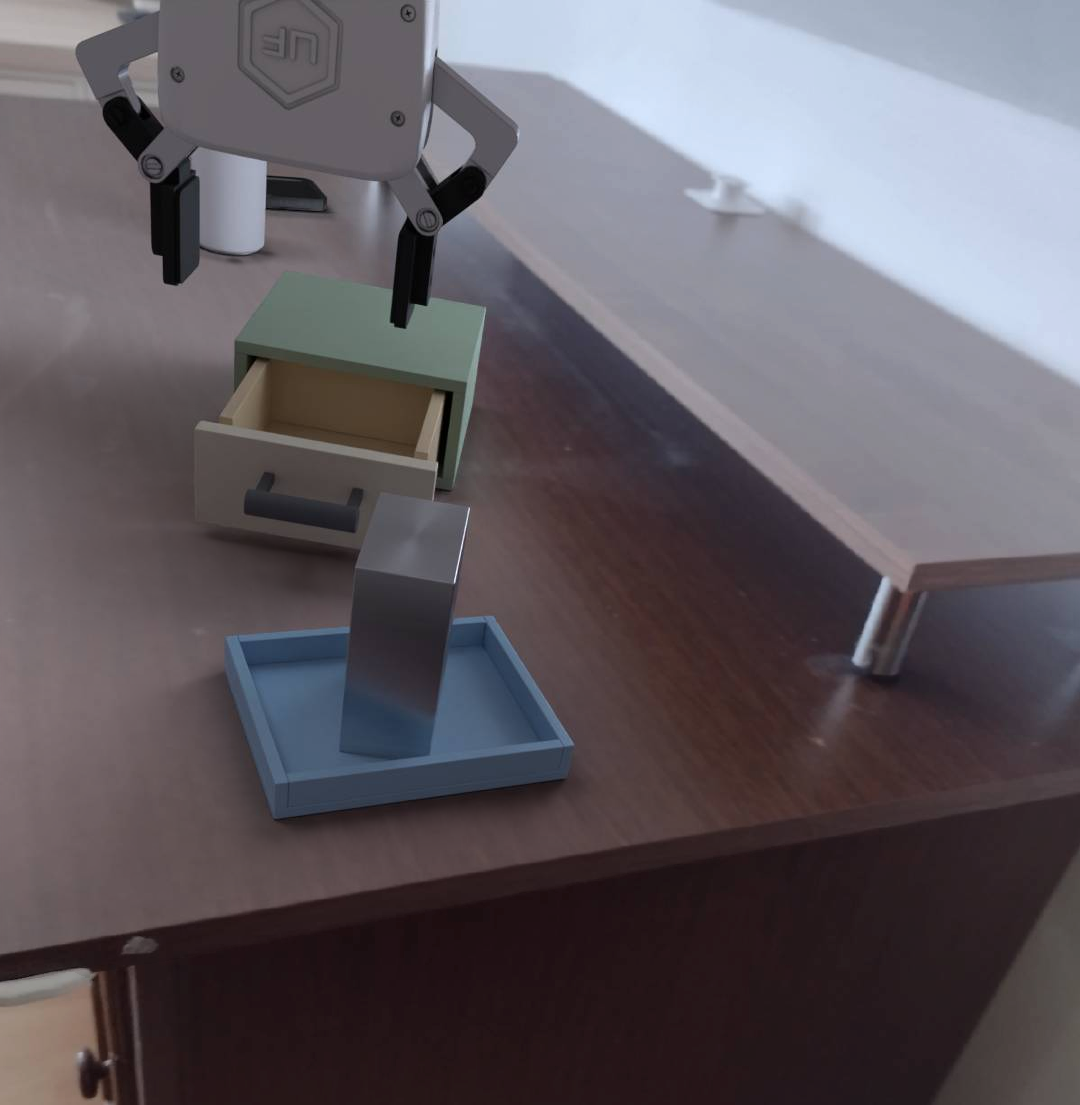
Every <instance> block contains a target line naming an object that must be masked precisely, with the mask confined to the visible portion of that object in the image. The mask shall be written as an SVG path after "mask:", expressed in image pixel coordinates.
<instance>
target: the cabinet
mask: <svg viewBox="0 0 1080 1105" xmlns="http://www.w3.org/2000/svg"><path fill="white" fill-rule="evenodd" d="M392 293H393V289H390V288H384V287H379V286H374V285H370V284H363V283H358V282H353V281H348V280H343V279H337V278H332V277H326V276H320V275H315V274H309V273H305V272H300V271H292V270H289V269H285V270H284V271H283V272H282V274H281V275H280V276H279V278H278V279H277V281H276V282H275V283H274V284H273V286H272V288H271V289H270V290H269V292H268V293H267V295H265V297H264V298H263V300H262V301H261V303H260V304H259V305H258V307H257V309H255V311H254V312H253V314H252V315H251V316H250V318H249V320H248V321H247V322H246V323H245V325H244V326H243V328H242V329H241V331H240V332H239V333H238V335H237V336H236V337H235V339H234V341H233V342H234V346H233V347H234V348H233V350H234V353H233V354H234V355H233V356H234V357H233V394H234V393H235V391H236V390H237V388H238V387H239V385H240V384H241V382H242V380H243V379H244V377H245V376H246V374H247V373H248V371H249V370H250V368H251V367H252V365H253V364H254V362H255V361H256V359H257V358H258V356H259V357H265V358H270V359H276V360H281V361H287V362H292V363H298V364H303V365H309V366H314V367H320V368H325V369H331V370H336V371H342V372H347V373H353V374H358V375H364V376H369V377H375V378H380V379H386V380H391V381H397V382H402V383H408V384H413V385H419V386H424V387H430V388H435V389H441V390H446V391H447V399H446V407H445V414H444V422H443V430H442V438H441V445H440V453H439V458H438V469H437V477H436V485H435V489H440V490H445V491H450V492H451V491H454V486H455V481H456V478H457V473H458V469H459V464H460V460H461V455H462V452H463V447H464V444H465V443H464V442H465V439H466V434H467V431H468V426H469V421H470V417H471V412H472V408H473V403H474V395H475V388H476V381H477V376H478V375H477V374H478V367H479V361H480V355H481V354H480V353H481V348H482V347H481V346H482V339H483V332H484V326H485V318H486V312H487V307H486V306H482V305H476V304H471V303H465V302H460V301H454V300H449V299H445V298H439V297H433V296H430V299H429V303H428V306H422V305H416V304H415V307H414V311H413V313H412V316H411V318H410V321H409V323H408V326H407V328H406V329H402V328H396V327H394V324H393V323H390V314H391V304H392Z"/></svg>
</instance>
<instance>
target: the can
mask: <svg viewBox="0 0 1080 1105" xmlns="http://www.w3.org/2000/svg"><path fill="white" fill-rule="evenodd" d="M267 163H268V162H267V161H262V160H257V159H252V158H247V157H242V156H237V155H232V154H227V153H223V152H218V151H213V150H209V149H205V148H202V147H199V148H198V149H197V150H196V151H195V152H194V153H193V154H192V156H191V169H192V170H196V176H198V177H199V179H200V248H202V249H203V250H206V251H208V252H212V253H216V254H220V255H227V256H247V255H248V256H249V255H254V254H257V253H259V252H260V251H261V249H262V248H263V247H264V246H265V236H266V235H265V234H266V233H265V232H266V208H265V206H266V175H267V172H268V171H267V168H268V167H267V165H268V164H267Z"/></svg>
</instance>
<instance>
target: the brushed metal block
mask: <svg viewBox="0 0 1080 1105" xmlns="http://www.w3.org/2000/svg"><path fill="white" fill-rule="evenodd" d="M470 512H471V507H469V506H466V505H465V506H464V505H460V504H453V503H447V502H442V501H437V500H433V501H431V500H425V499H419V498H414V497H408V496H402V495H396V494H391V493H385V492H380V495H379V498H378V500H377V503H376V506H375V509H374V512H373V515H372V518H371V521H370V524H369V527H368V530H367V533H366V536H365V539H364V542H363V545H362V548H361V550H359V553H358V556H357V560H356V562H355V566H354V574H353V585H352V595H351V596H352V597H351V606H350V618H349V626H350V629H349V640H348V652H347V663H346V674H345V686H344V697H343V708H342V720H341V731H340V742H339V751H342V752H348V753H354V754H360V755H367V756H373V757H379V758H385V759H392V760H399V759H407V758H415V757H423V756H430V753H431V747H432V742H433V737H434V731H435V726H436V721H437V716H438V710H439V705H440V700H441V695H442V689H443V684H444V678H445V672H446V665H447V658H448V652H449V645H450V638H451V632H452V625H453V619H454V618H455V611H456V605H457V600H458V592H459V585H460V584H459V583H460V577H461V571H462V565H463V558H464V551H465V544H466V538H467V532H468V525H469V518H470Z"/></svg>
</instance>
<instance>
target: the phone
mask: <svg viewBox="0 0 1080 1105" xmlns="http://www.w3.org/2000/svg"><path fill="white" fill-rule="evenodd" d="M327 206H328V196H327V195H326V194H325V193H324V192H323V191H322V190H321V188H320V187H319V186H318V185H317V184H316V183H315V181H313V180H312V179H310V178H307V177H298V176H283V175H268V174H266V206H265V209H276V210H277V209H278V210H293V211H295V210H296V211H297V210H298V211H313V212H316V211H317V212H324V211H327Z"/></svg>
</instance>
